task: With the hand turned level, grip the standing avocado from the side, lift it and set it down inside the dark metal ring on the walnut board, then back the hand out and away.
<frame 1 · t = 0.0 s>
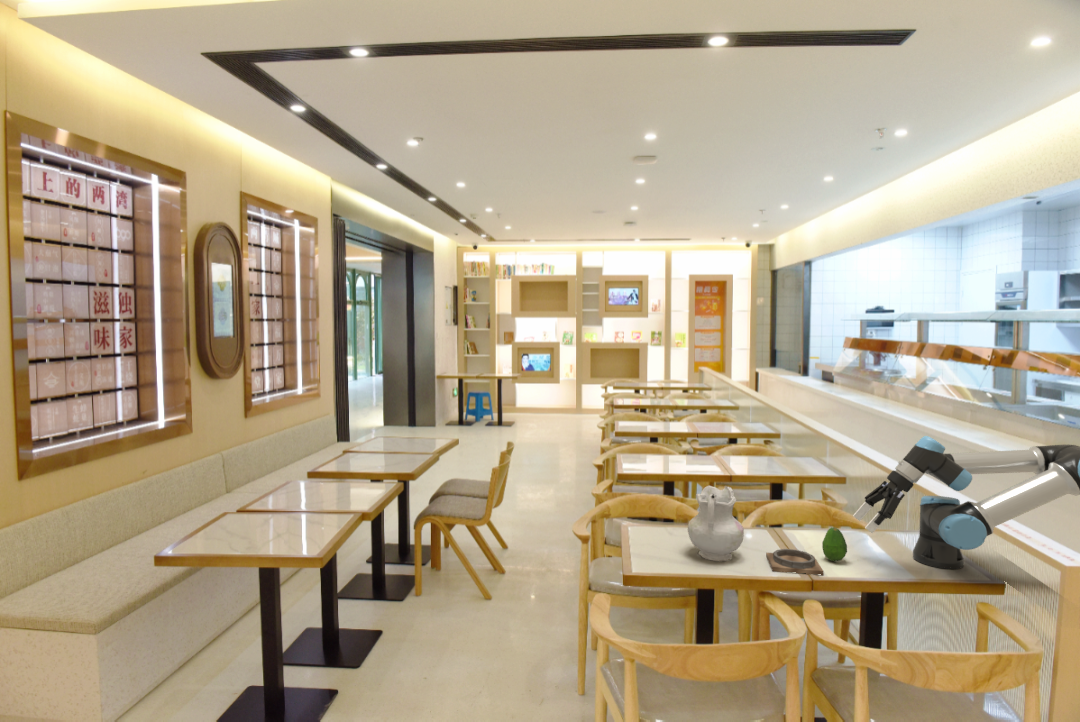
hand: (862, 524, 211), 15 cm above the table, tool tilted 35°, fingers open, 13 cm apart
ring stand: (793, 565, 214), on the table
ceramic pitcher: (715, 557, 222), on the table
avocado: (834, 561, 219), on the table
calculator: (723, 536, 246), on the table
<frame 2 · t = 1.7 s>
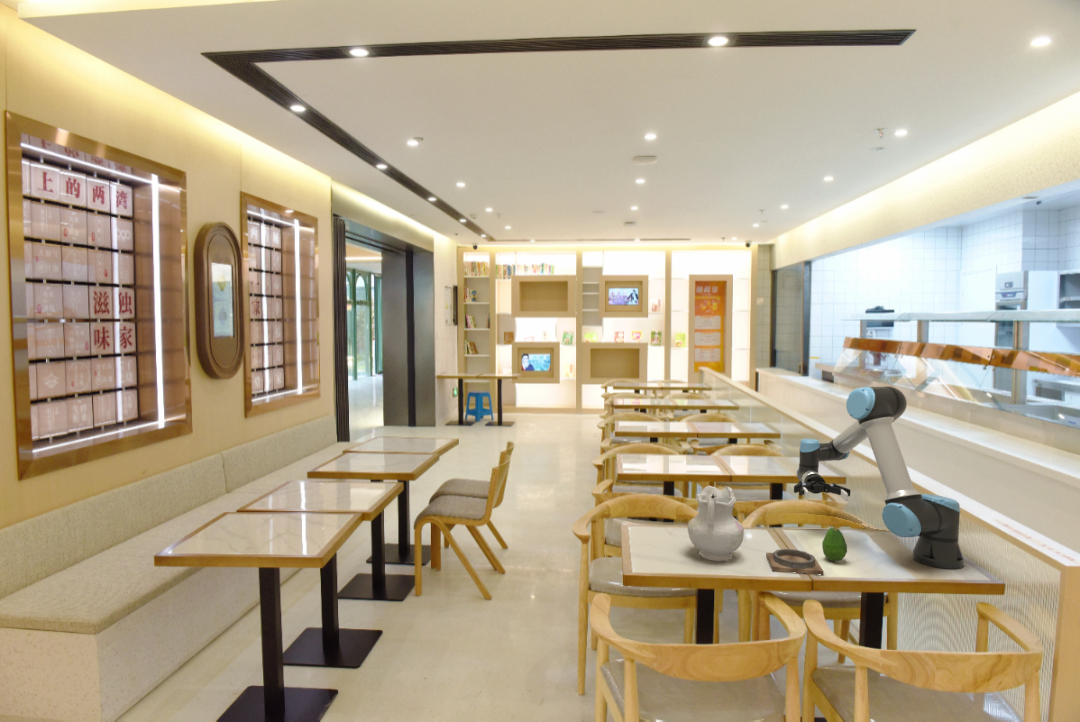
hand: (827, 496, 230), 20 cm above the table, tool horizontal, fingers open, 13 cm apart
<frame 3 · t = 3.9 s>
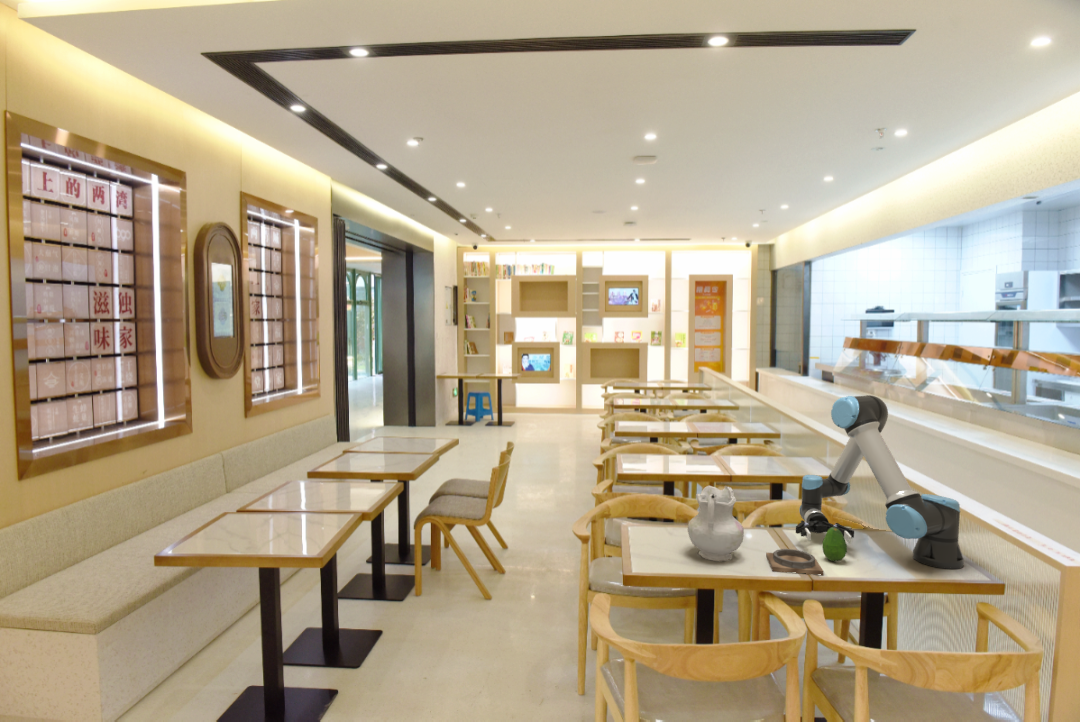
hand: (829, 538, 223), 6 cm above the table, tool horizontal, fingers open, 13 cm apart
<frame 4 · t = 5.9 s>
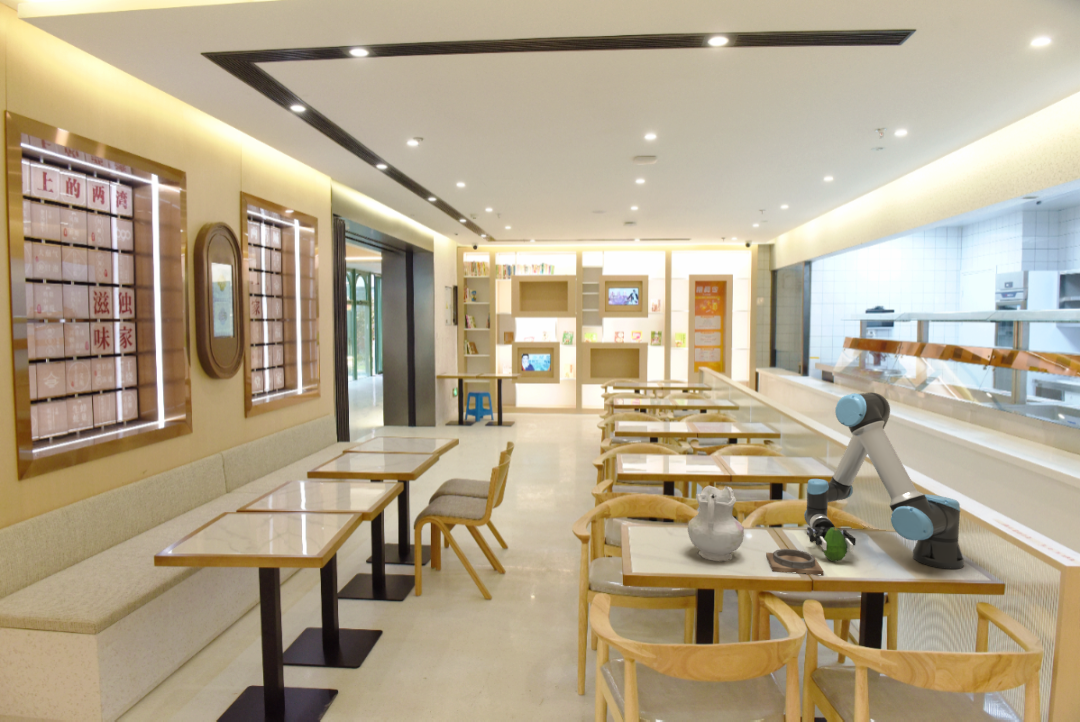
hand: (838, 547, 214), 7 cm above the table, tool horizontal, fingers closed on avocado, 8 cm apart
avocado: (834, 561, 219), on the table, touching gripper
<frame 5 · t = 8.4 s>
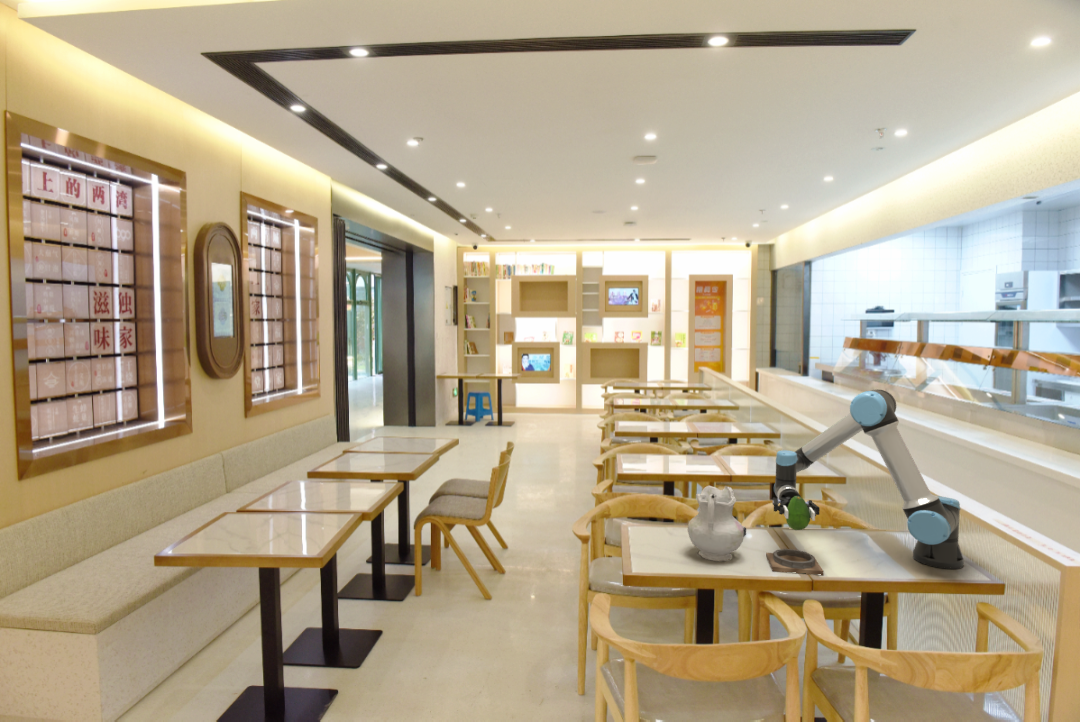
hand: (800, 515, 210), 18 cm above the table, tool horizontal, fingers closed on avocado, 8 cm apart
avocado: (797, 530, 215), point 12 cm above the table, touching gripper
when the fingers open (10 cm above the table, at t = 10.9 s): avocado drops 2 cm, resting on ring stand.
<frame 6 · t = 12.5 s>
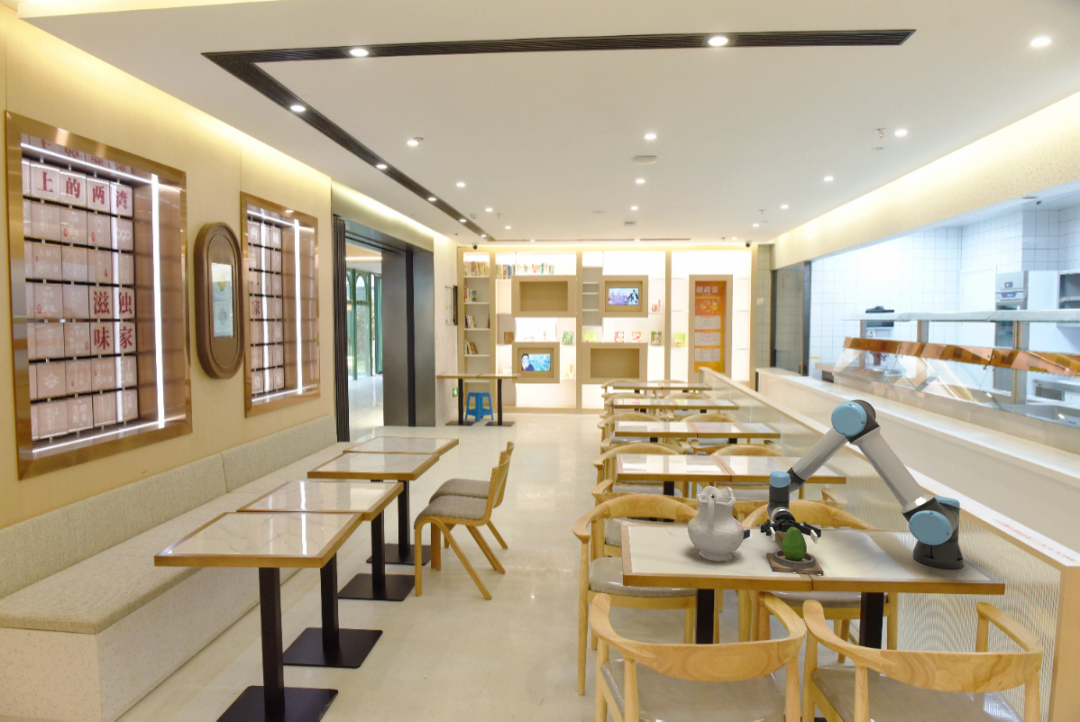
hand: (795, 538, 212), 10 cm above the table, tool horizontal, fingers open, 13 cm apart
avocado: (794, 561, 214), point 1 cm above the table, touching ring stand
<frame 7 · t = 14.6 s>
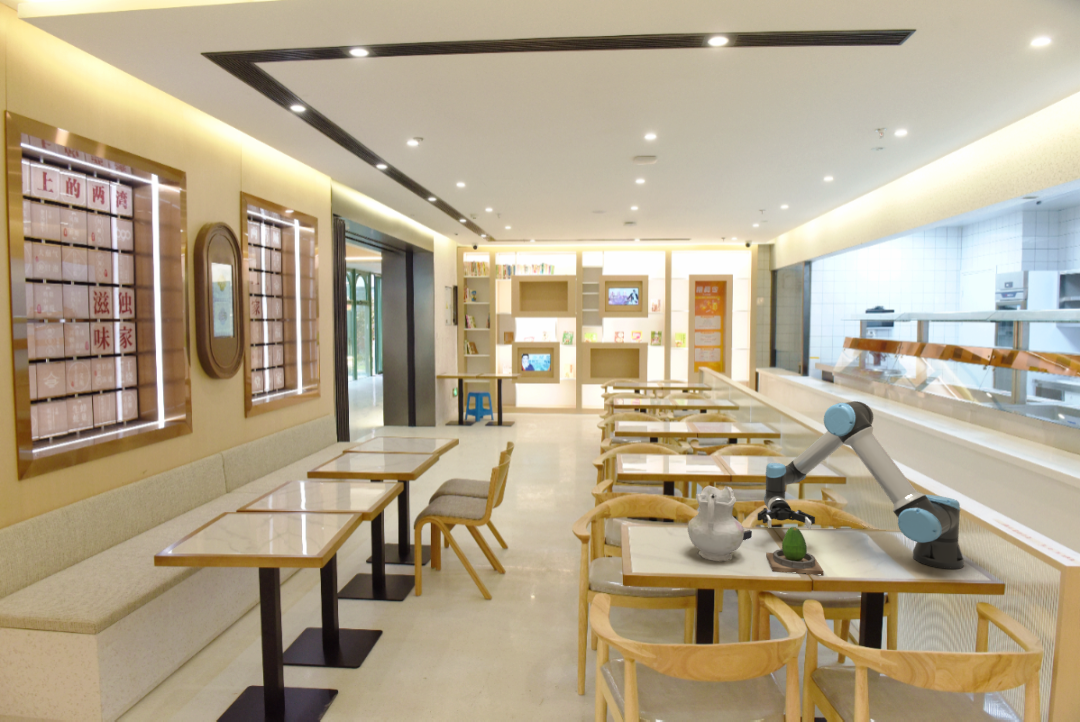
hand: (790, 524, 223), 11 cm above the table, tool horizontal, fingers open, 13 cm apart
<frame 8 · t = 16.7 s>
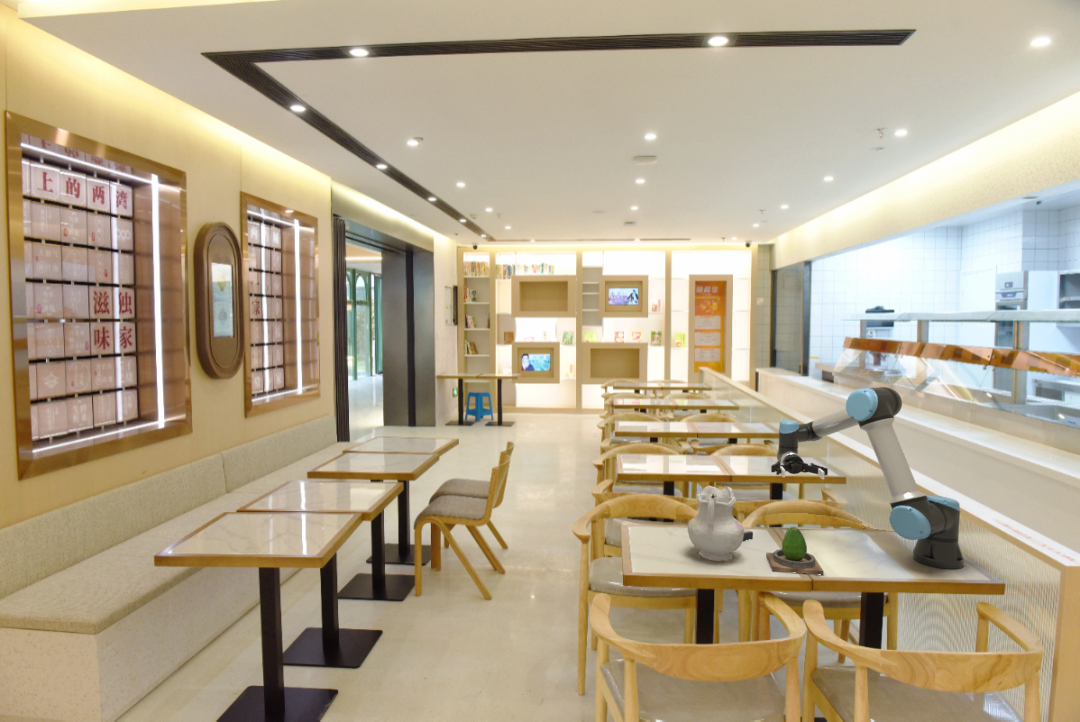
hand: (803, 474, 229), 28 cm above the table, tool horizontal, fingers open, 13 cm apart
at the end: avocado 0.1 cm off-centre on the ring stand, point 1.3 cm above the ring stand's base; the gripper is holding nothing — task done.
